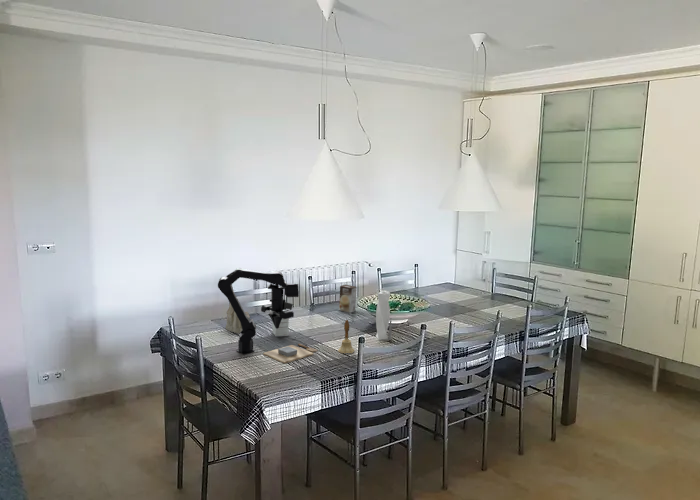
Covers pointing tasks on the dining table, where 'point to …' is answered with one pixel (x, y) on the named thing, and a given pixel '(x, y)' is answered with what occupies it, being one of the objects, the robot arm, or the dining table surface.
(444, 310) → the dining table surface
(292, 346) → the board
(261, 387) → the dining table surface
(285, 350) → the block
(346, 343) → the hand bell
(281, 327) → the supplement box
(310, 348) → the turner
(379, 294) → the white bottle
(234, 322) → the beige sack
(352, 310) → the coffee box
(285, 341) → the dining table surface
